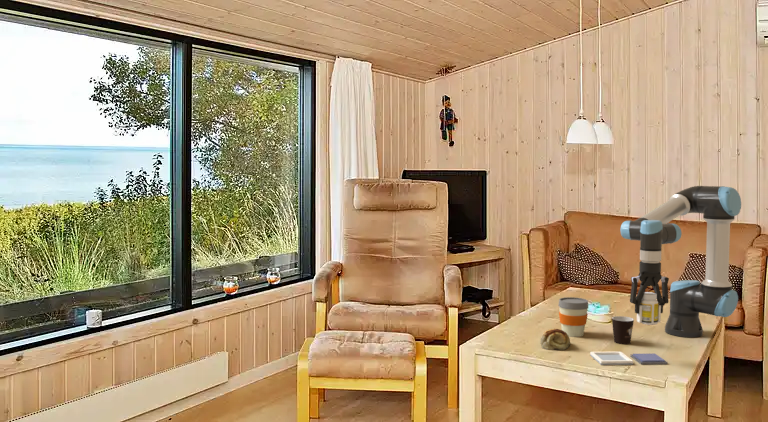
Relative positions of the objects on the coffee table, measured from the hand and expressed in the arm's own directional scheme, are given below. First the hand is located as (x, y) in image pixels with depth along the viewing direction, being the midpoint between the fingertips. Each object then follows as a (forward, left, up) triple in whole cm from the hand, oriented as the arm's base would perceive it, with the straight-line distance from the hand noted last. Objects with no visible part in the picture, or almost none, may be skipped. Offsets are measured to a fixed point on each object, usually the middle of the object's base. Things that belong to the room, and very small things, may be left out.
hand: (648, 321), depth 251 cm
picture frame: (+14, -1, -15) cm, 20 cm away
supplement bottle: (0, 0, -1) cm, 1 cm away
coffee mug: (-1, -25, -15) cm, 29 cm away
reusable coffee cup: (+17, -38, -15) cm, 44 cm away
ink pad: (0, 0, -15) cm, 15 cm away
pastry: (+29, -20, -15) cm, 39 cm away
